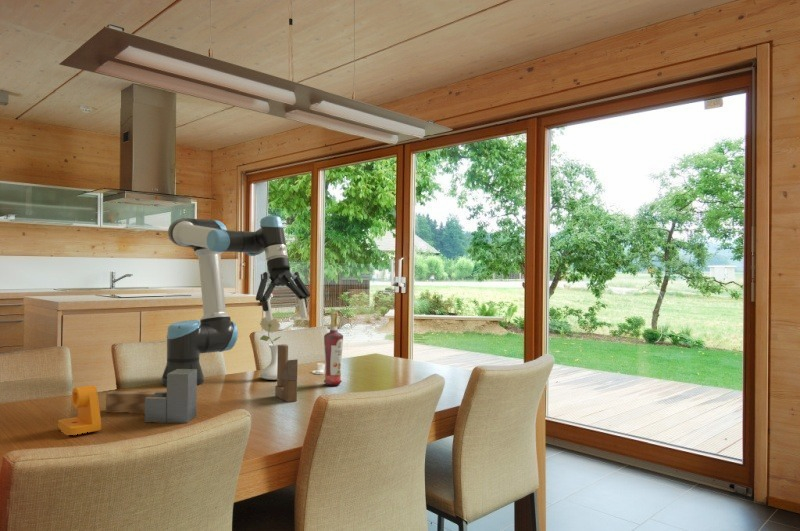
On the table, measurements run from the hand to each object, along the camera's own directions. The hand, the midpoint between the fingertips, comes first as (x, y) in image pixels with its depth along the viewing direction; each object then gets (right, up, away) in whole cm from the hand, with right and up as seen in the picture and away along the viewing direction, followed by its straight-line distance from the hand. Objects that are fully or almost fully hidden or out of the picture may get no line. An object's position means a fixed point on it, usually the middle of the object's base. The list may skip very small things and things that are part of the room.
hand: (287, 319), depth 194 cm
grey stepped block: (-29, -27, -25) cm, 47 cm away
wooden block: (-1, -28, +2) cm, 28 cm away
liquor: (+12, -28, +26) cm, 40 cm away
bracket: (-49, -27, -39) cm, 68 cm away
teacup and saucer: (+2, -28, +50) cm, 57 cm away
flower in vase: (-13, -27, +35) cm, 46 cm away
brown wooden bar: (-41, -27, -18) cm, 53 cm away
